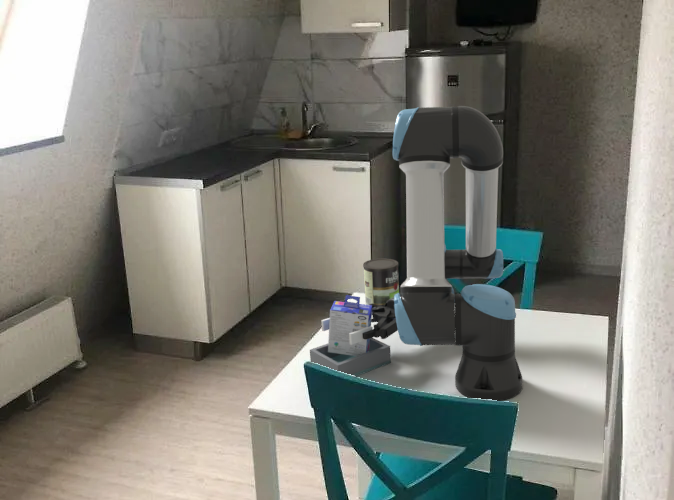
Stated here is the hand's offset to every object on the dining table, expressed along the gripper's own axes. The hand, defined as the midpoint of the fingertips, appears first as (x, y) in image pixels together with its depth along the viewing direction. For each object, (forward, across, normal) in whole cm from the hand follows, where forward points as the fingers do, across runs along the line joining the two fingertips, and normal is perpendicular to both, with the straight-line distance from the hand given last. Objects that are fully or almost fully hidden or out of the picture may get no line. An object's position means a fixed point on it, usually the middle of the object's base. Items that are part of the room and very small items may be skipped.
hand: (336, 332), depth 179 cm
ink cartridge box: (-4, +1, -7) cm, 8 cm away
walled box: (-4, +1, -10) cm, 11 cm away
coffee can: (-34, +24, -10) cm, 43 cm away
